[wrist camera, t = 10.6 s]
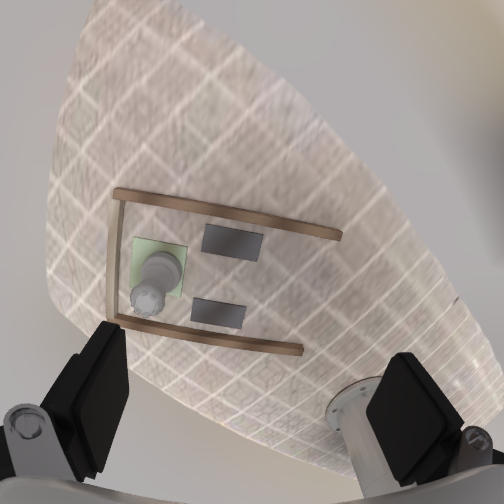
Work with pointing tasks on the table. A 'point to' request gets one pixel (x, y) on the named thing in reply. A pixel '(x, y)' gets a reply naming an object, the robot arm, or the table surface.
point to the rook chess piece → (155, 283)
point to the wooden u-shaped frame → (213, 242)
